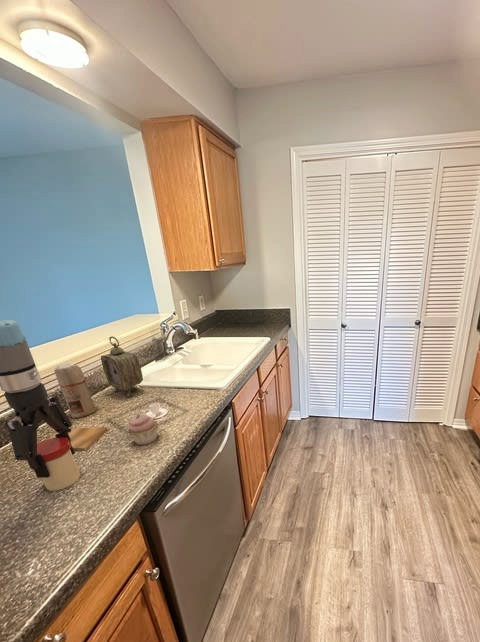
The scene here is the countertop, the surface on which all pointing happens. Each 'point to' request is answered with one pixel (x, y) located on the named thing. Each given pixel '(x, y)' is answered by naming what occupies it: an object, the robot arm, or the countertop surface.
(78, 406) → the tan tall cylinder
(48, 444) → the lid
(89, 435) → the board
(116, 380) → the tabletop clock
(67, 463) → the jar
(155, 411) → the teacup and saucer
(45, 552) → the countertop surface
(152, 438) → the cupcake
